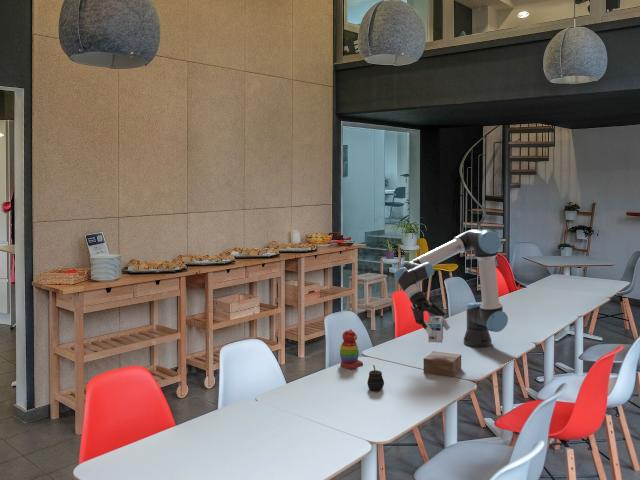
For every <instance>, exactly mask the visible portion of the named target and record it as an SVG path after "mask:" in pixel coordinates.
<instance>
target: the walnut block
mask: <svg viewBox="0 0 640 480" xmlns="http://www.w3.org/2000/svg"><path fill="white" fill-rule="evenodd" d="M461 370H462V354H459V353H449V352H442V351H434V350H433V351H431V352H430V353H429V354H428V355H426V356H425V357H424V358H423V374H427V375H435V376H441V377H448V378H449V377H450V378H453V377H455V376H456V374H458V373H459V372H460V371H461Z"/></svg>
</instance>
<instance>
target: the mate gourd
mask: <svg viewBox="0 0 640 480" xmlns="http://www.w3.org/2000/svg"><path fill="white" fill-rule="evenodd" d="M366 384H367V388H368V389H369V390H370V391H371V392H380V391H381V390H382V389H383V388H384V385H385V381H384V378H383V371H381V370H379V369H378V370H377V369H376V366H375V364H373V370H369V372H368V378H367V383H366Z"/></svg>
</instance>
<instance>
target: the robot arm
mask: <svg viewBox="0 0 640 480" xmlns="http://www.w3.org/2000/svg"><path fill="white" fill-rule="evenodd" d="M501 245H502V241H501V237H500V236H499V234H498V233H497V232H495V231H494V230H489V229H479V228H472V229H469V230H466V231H464V232H463V233H460V234H457V236H454V237H453V239H452V240H450V241H448V242H446V243H444V244H442V245H440V246H438V247H435V248H434V249H432V250H430V251H428V252H426V253H425V254H422V255H420V256H418V257H416V258H413V259H411V260H404V261H403V262H402V263H401V264H400V268H399V269H397V270H396V271H395V272H394V275H393V277H394V278H395V280H396V282H397V283H398V285H399V286H400V288H401V290H402V291H403V292H404V293H405V295H406V297H407V298H408V299H409V301H410V303H411V304H412V305H411V306H410V309H411V311H412V313H413V318H414V321H415V323H416V324H418V326H419V325H421V327H422V328H423V329H424V330H425V332H426V333H427V334H428V335H431V333H432V332H433V331H432V329H431V328H430V326H429V325H428V321H427V320H425V317H424V315H425V314H424V312H427V313H430V314H432V316H443V329H444V330H445V331H448V330H449V329H450V328H451V326H450V325H449V322H448V321H447V320H446V318H445V315H446V312H444V311H443V310H442V309H441V308H440V307H439V306H438V305H436V304H435V303H434V301H433V300H431V299H430V300H429V301H427V296H426V295H425V293H424V292H423V291H422V289H421V287H420V286H419V284H418V283H420V282H422V281H424V280H425V279H429V278H430V277H432V276H433V275H435V269H434V266H436V265H437V264H439V263H441V262H444V261H445V260H448V259H449V258H451V257H453V256H455V255H457V254H464V253H466V252H468V251H469V252H471V251H473V254H474V257H475V258H476V259H477V263H478V272H479V281H480V292H481V294H480V295H481V301H480V302H479V301H478V302H477V301H476V302H468V303H467V304H466V329H465V330H466V331H465V333H464V336H463V344H464V345H466V346H469V347H474V348H485V347H490V346H492V344H493V343H492V337H491V335H490V332H493V333H500V332H501V331H503V330H504V329H505V327H507V325H508V321H509V318H508V315H507V314H506V312H505V311H503V304H502V303H501V302H500V299H499V289H498V288H499V287H498V277H497V276H498V275H497V265H496V257H497V256H498V252H499V250H500V249H501ZM428 335H427V336H428Z"/></svg>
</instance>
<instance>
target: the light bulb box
mask: <svg viewBox="0 0 640 480" xmlns="http://www.w3.org/2000/svg"><path fill="white" fill-rule="evenodd" d="M427 320H428V321H427V323H428V325H429V326H430V328H431V329H432V331H433V332H432V333H431V335H427V336H428V343H436V344H437V343H443V340H444V327H443V316H435V315H433V314H432V315H429V316H428V319H427Z"/></svg>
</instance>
